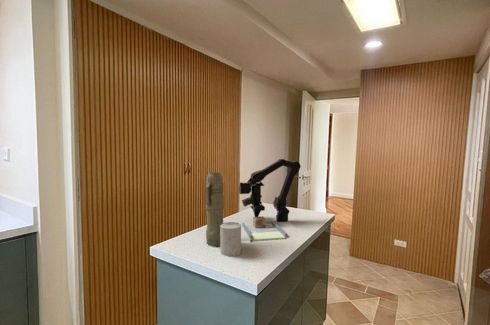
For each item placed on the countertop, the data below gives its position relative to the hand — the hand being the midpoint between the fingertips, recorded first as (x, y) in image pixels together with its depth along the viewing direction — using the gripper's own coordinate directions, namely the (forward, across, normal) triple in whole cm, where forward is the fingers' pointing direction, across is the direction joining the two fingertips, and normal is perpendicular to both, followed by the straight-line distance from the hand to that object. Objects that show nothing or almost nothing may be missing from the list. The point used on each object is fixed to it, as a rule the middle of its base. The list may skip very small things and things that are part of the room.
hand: (256, 218), depth 162 cm
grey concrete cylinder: (+4, +38, -21) cm, 43 cm away
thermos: (+4, +26, -27) cm, 37 cm away
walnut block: (+2, +8, 0) cm, 8 cm away
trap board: (+4, +15, 0) cm, 16 cm away
